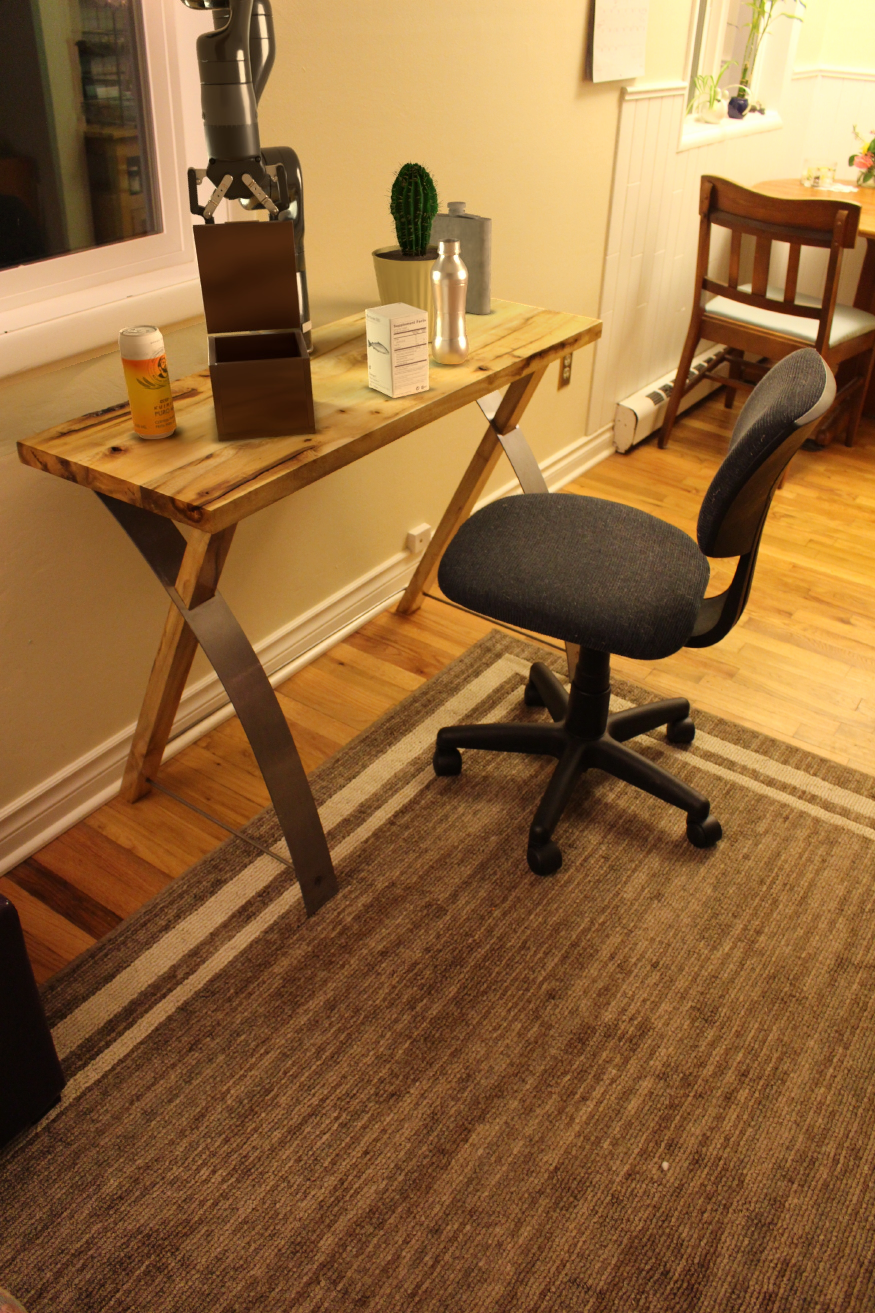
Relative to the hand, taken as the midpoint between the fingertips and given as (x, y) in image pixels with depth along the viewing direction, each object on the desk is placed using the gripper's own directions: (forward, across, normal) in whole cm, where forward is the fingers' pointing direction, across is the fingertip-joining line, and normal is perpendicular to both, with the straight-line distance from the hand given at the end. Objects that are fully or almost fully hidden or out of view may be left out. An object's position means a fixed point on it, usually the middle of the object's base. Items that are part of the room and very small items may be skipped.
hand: (244, 243), depth 151 cm
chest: (+23, 0, +11) cm, 26 cm away
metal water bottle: (+23, -33, -10) cm, 42 cm away
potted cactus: (+23, -30, -29) cm, 48 cm away
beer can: (+23, +16, +13) cm, 31 cm away
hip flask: (+23, -42, -47) cm, 67 cm away
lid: (+4, 0, +5) cm, 6 cm away
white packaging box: (+23, -22, +1) cm, 32 cm away
